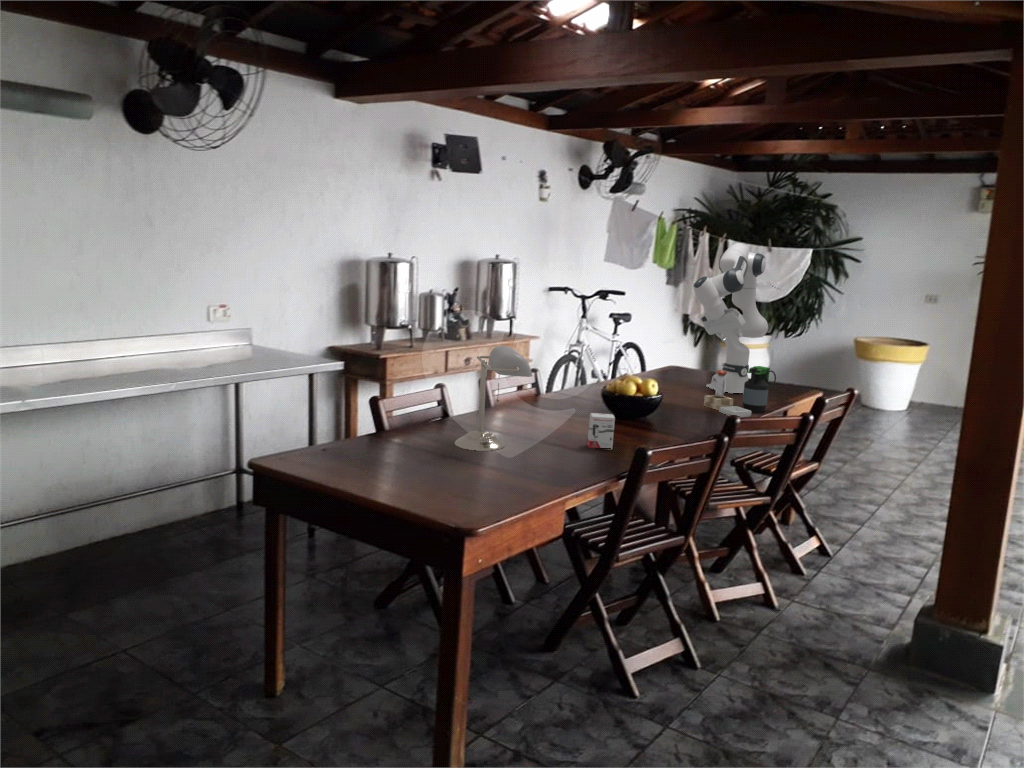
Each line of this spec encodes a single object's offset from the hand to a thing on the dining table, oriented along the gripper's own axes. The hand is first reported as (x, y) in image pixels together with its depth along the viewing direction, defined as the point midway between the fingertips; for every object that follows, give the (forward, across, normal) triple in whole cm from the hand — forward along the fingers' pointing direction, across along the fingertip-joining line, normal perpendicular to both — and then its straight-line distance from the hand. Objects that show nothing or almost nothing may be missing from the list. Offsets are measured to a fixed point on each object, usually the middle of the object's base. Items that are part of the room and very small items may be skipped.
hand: (732, 338), depth 351 cm
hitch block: (+26, +16, +13) cm, 33 cm away
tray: (+28, +4, +18) cm, 33 cm away
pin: (+26, +16, +13) cm, 33 cm away
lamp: (-34, -3, +128) cm, 133 cm away
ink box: (-11, -19, +100) cm, 103 cm away
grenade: (+36, +7, +3) cm, 36 cm away
